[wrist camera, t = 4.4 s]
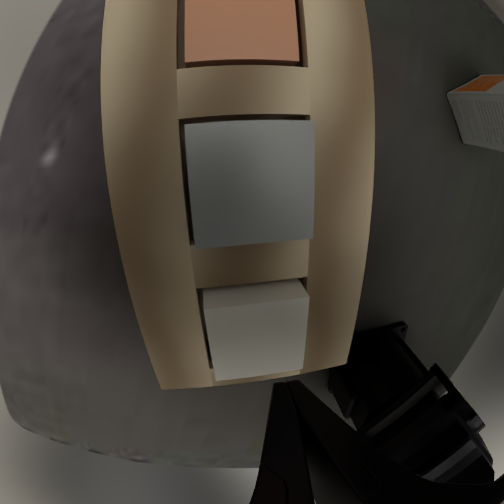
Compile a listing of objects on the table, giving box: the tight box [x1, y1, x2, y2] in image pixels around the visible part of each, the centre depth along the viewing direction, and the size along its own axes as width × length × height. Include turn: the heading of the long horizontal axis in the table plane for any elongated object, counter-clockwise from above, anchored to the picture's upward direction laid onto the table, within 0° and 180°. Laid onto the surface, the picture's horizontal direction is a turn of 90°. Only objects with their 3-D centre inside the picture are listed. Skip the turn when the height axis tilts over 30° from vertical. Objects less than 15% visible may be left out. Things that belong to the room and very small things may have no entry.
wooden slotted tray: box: [101, 0, 375, 389], centre depth 13 cm, size 11×22×4 cm, turn 2°
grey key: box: [184, 120, 315, 249], centre depth 11 cm, size 4×4×2 cm
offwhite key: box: [203, 278, 310, 381], centre depth 13 cm, size 4×4×2 cm
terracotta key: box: [185, 0, 299, 68], centre depth 9 cm, size 4×4×2 cm
